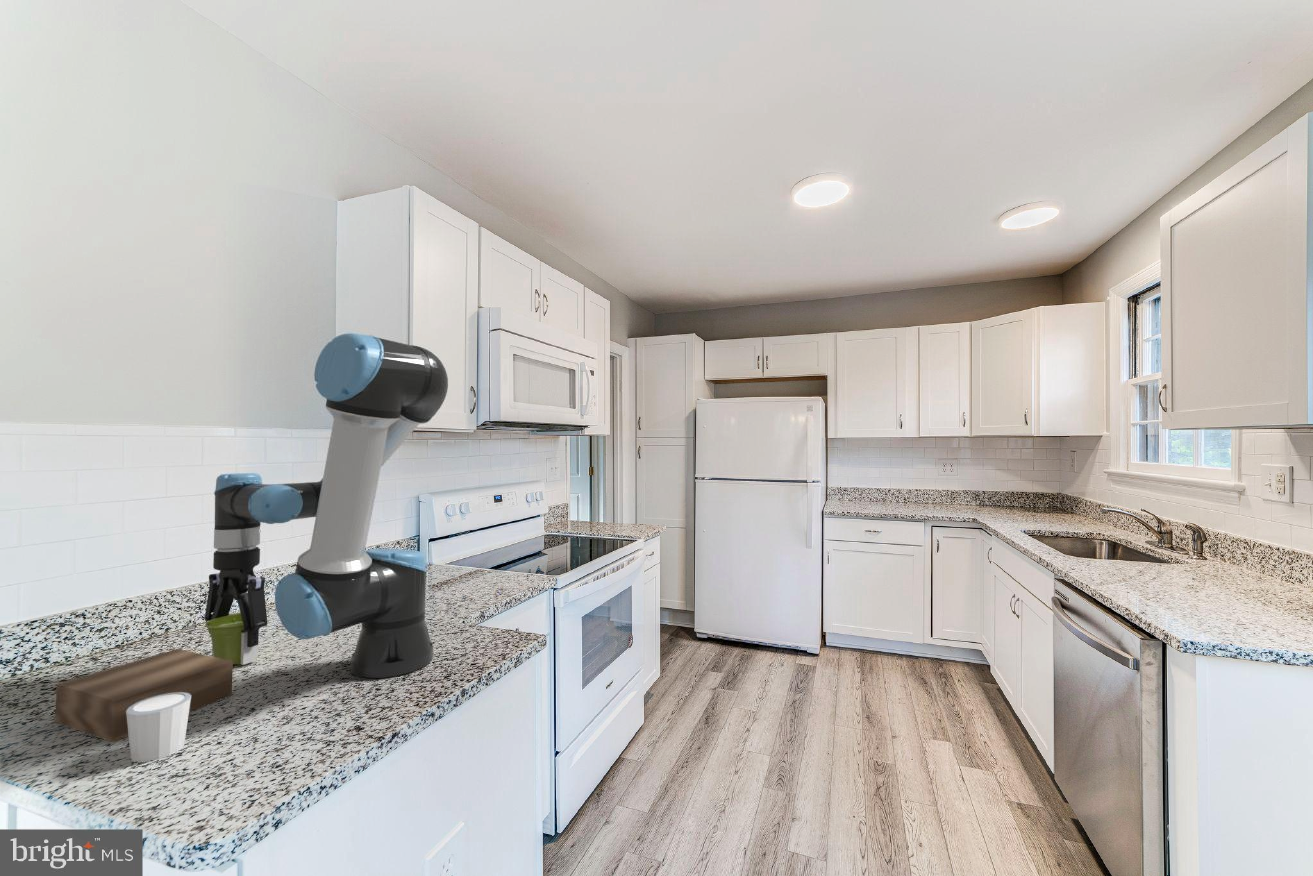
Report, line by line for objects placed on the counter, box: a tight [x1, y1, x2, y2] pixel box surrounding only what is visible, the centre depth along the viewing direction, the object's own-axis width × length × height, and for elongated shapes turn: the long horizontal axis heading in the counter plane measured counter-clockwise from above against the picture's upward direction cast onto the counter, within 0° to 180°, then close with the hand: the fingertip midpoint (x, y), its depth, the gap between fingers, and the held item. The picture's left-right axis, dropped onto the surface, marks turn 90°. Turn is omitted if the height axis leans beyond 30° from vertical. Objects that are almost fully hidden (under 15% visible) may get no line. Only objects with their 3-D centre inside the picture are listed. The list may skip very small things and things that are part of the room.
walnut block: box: [54, 648, 234, 743], centre depth 89 cm, size 16×16×6 cm
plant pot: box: [204, 612, 251, 666], centre depth 108 cm, size 9×9×9 cm
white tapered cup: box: [126, 692, 191, 763], centre depth 76 cm, size 7×7×7 cm
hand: (234, 658), depth 108 cm, fingers closed on plant pot, 8 cm apart
